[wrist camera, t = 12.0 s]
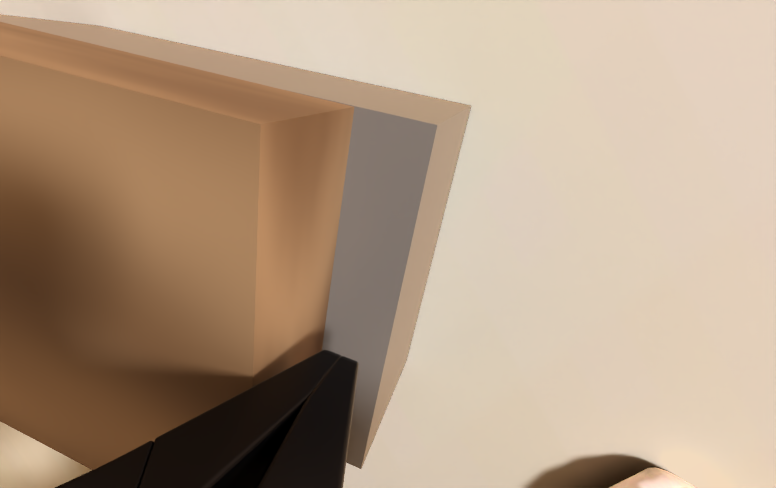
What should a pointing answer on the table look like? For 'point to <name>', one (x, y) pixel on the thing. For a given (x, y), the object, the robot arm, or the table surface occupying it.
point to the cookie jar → (653, 480)
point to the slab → (154, 239)
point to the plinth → (352, 204)
